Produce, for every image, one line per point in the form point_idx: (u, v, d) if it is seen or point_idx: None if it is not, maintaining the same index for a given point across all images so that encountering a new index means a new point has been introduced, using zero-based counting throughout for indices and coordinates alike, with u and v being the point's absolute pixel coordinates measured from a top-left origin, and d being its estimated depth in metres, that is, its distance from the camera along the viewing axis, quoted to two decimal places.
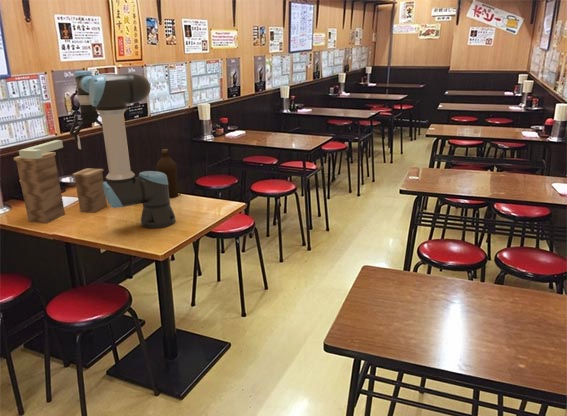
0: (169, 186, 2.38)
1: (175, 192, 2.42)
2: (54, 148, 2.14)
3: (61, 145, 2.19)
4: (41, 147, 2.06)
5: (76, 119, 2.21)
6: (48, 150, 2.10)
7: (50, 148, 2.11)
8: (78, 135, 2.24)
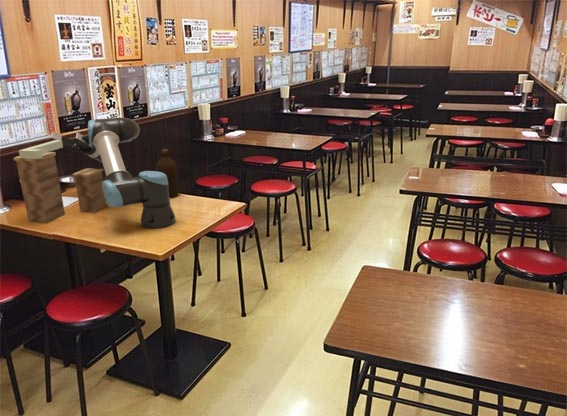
0: (169, 186, 2.38)
1: (175, 192, 2.42)
2: (54, 148, 2.14)
3: (61, 145, 2.19)
4: (41, 147, 2.06)
5: None
6: (48, 150, 2.10)
7: (50, 148, 2.11)
8: (61, 138, 2.30)
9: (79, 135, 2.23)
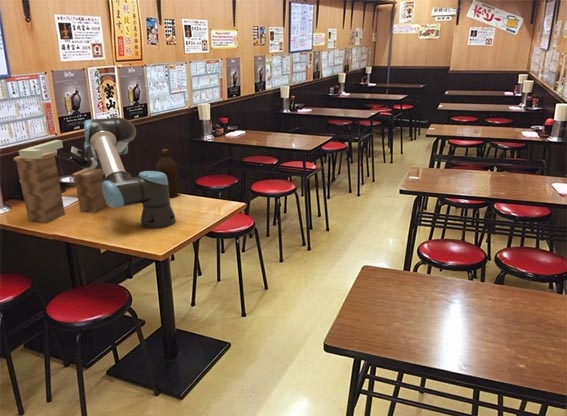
0: (169, 186, 2.38)
1: (175, 192, 2.42)
2: (54, 148, 2.14)
3: (61, 145, 2.19)
4: (41, 147, 2.06)
5: None
6: (48, 150, 2.10)
7: (50, 148, 2.11)
8: (56, 152, 2.28)
9: (74, 149, 2.21)
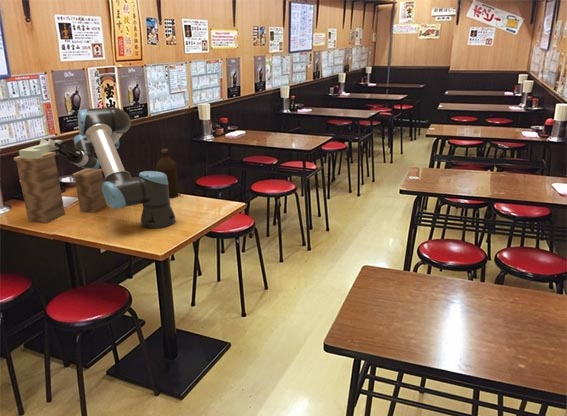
0: (169, 186, 2.38)
1: (175, 192, 2.42)
2: (54, 148, 2.14)
3: None
4: (41, 147, 2.06)
5: None
6: (48, 150, 2.10)
7: (50, 148, 2.11)
8: None
9: (51, 141, 2.11)
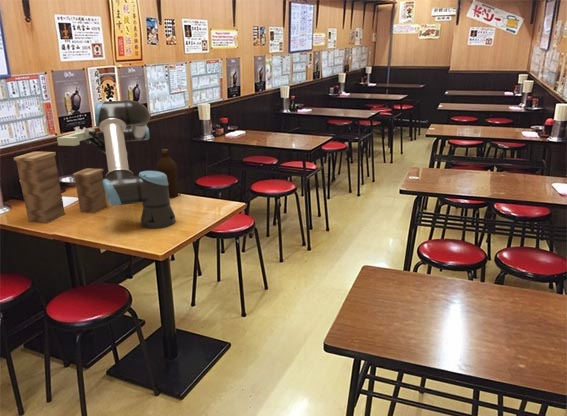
0: (169, 186, 2.38)
1: (175, 192, 2.42)
2: (88, 137, 2.22)
3: None
4: (77, 135, 2.13)
5: None
6: (83, 138, 2.18)
7: (85, 136, 2.19)
8: None
9: (86, 130, 2.19)
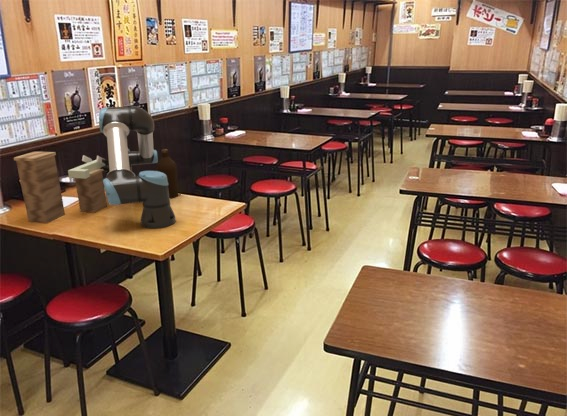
0: (169, 186, 2.38)
1: (175, 192, 2.42)
2: (98, 167, 2.25)
3: None
4: (87, 166, 2.16)
5: None
6: (93, 169, 2.21)
7: (95, 167, 2.22)
8: None
9: (99, 158, 2.21)
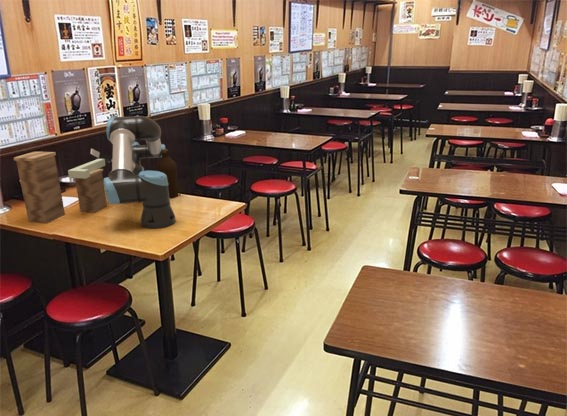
0: (169, 186, 2.38)
1: (175, 192, 2.42)
2: (98, 167, 2.25)
3: (104, 163, 2.29)
4: (87, 166, 2.16)
5: None
6: (93, 169, 2.21)
7: (95, 167, 2.22)
8: (99, 154, 2.39)
9: None
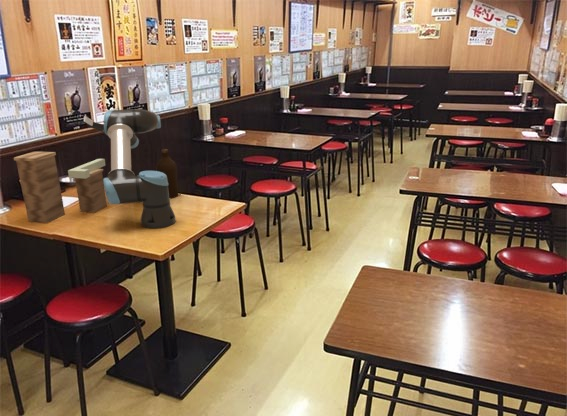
0: (169, 186, 2.38)
1: (175, 192, 2.42)
2: (98, 167, 2.25)
3: (104, 163, 2.29)
4: (87, 166, 2.16)
5: None
6: (93, 169, 2.21)
7: (95, 167, 2.22)
8: (92, 123, 2.35)
9: None
